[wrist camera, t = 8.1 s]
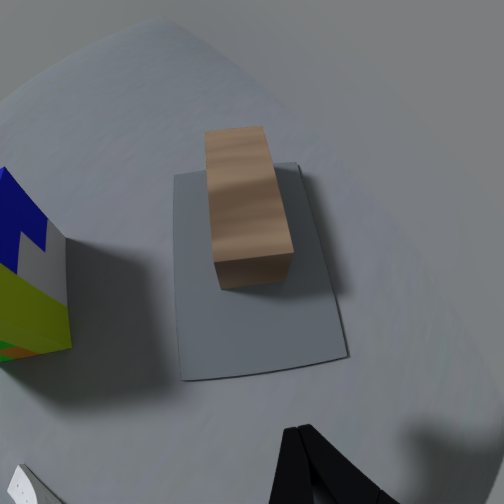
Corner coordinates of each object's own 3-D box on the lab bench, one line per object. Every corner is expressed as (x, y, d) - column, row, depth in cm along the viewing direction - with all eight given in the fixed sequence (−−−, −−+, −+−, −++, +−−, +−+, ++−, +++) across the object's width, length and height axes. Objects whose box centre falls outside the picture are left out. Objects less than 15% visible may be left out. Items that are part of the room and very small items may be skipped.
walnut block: (294, 252, 16) (262, 126, 21) (213, 262, 16) (204, 131, 21) (285, 281, 20) (260, 164, 25) (220, 289, 20) (210, 170, 25)
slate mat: (346, 356, 18) (347, 356, 18) (182, 380, 17) (181, 380, 17) (295, 164, 26) (296, 162, 25) (174, 177, 25) (174, 175, 25)
